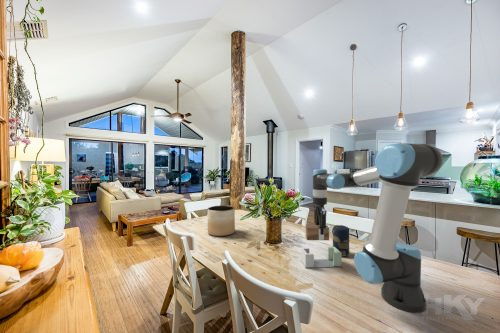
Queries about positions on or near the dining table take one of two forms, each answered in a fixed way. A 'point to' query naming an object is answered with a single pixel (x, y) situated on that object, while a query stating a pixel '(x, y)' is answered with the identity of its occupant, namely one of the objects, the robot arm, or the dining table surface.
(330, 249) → the end cap
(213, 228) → the planter
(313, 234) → the block
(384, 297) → the robot arm
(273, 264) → the dining table surface
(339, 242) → the canister
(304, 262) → the endcap base
